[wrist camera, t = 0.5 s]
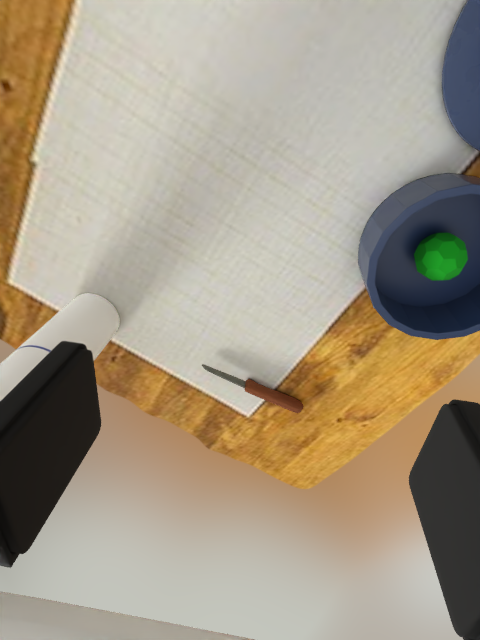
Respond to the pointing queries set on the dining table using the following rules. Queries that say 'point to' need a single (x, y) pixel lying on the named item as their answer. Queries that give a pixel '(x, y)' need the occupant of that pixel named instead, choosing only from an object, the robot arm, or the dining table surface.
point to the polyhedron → (440, 256)
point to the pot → (399, 263)
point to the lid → (464, 75)
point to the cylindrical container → (63, 336)
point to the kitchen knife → (262, 391)
